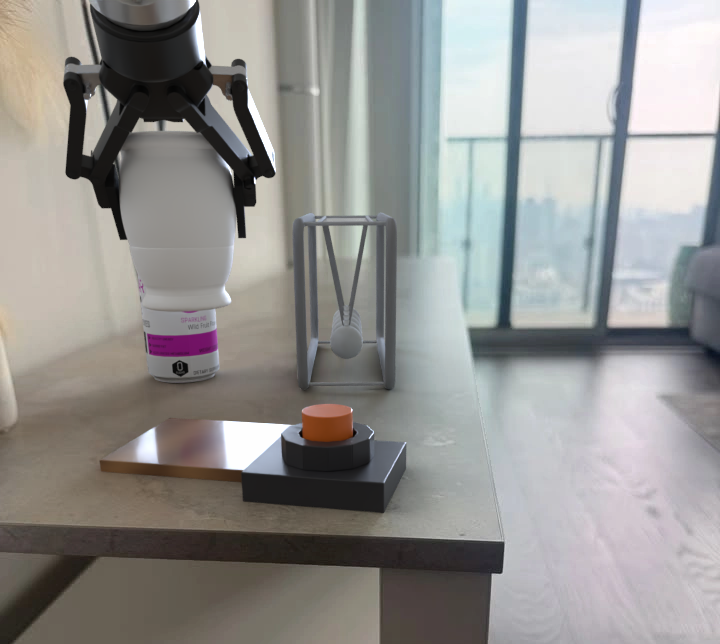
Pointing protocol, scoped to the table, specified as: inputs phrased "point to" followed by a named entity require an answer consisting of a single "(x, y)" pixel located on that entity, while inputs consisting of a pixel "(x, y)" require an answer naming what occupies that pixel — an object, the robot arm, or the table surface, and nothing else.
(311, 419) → the button
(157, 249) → the jar
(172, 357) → the supplement can
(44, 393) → the table surface
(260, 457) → the switch block
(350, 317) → the newton's cradle
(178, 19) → the robot arm
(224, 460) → the plate
